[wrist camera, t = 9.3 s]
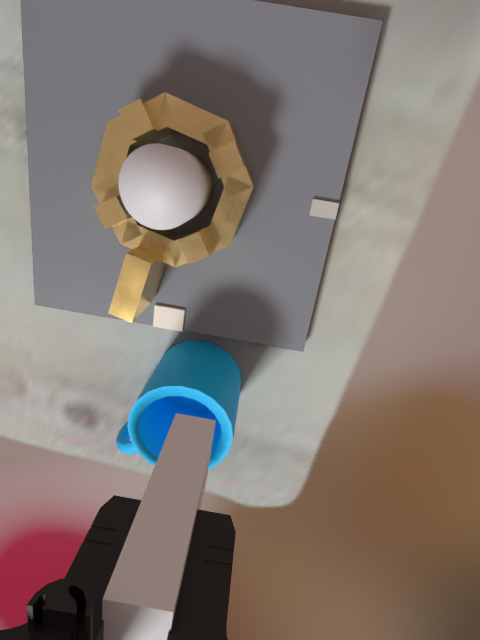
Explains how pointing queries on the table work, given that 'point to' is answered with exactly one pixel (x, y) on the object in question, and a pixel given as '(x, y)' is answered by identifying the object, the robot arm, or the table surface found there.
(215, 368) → the mug
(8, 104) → the table surface
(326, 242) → the housing plate
